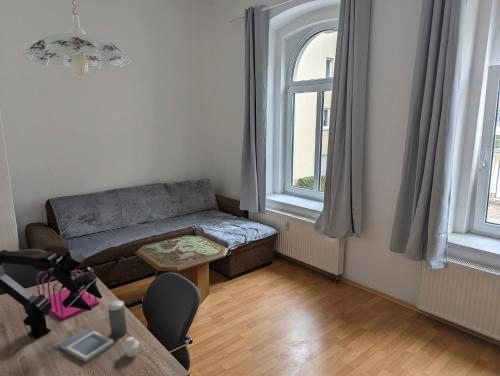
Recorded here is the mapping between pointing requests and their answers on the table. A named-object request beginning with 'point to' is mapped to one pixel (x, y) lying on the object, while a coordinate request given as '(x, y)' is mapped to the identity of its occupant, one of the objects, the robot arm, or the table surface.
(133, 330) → the table surface
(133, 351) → the muffin
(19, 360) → the table surface
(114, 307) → the grey cup with lid
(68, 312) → the file sorter
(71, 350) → the charging board
